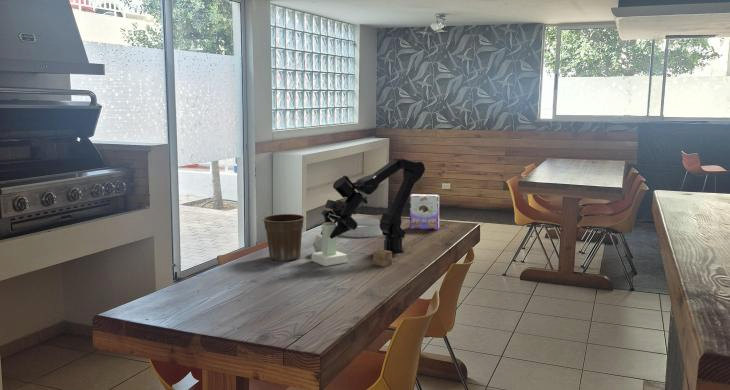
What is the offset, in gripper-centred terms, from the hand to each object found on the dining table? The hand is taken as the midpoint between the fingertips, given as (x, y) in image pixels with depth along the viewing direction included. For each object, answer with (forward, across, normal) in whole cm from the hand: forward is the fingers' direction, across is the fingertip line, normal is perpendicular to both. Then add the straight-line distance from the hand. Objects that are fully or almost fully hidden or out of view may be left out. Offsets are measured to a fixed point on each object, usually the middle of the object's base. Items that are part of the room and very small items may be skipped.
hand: (326, 236), depth 248 cm
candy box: (-44, -31, +59) cm, 79 cm away
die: (+4, -12, +11) cm, 16 cm away
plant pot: (+14, -15, 0) cm, 21 cm away
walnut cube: (-4, +15, +19) cm, 24 cm away
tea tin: (+4, 0, +6) cm, 7 cm away
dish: (-22, -40, +37) cm, 59 cm away
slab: (+6, 0, +8) cm, 10 cm away
